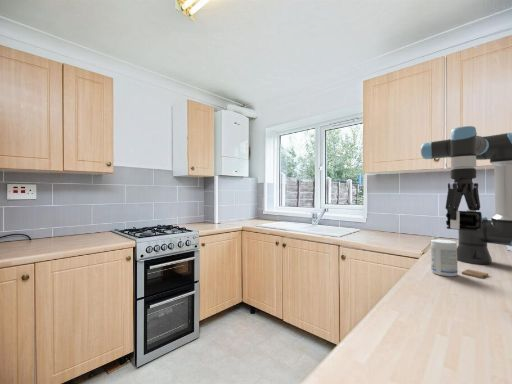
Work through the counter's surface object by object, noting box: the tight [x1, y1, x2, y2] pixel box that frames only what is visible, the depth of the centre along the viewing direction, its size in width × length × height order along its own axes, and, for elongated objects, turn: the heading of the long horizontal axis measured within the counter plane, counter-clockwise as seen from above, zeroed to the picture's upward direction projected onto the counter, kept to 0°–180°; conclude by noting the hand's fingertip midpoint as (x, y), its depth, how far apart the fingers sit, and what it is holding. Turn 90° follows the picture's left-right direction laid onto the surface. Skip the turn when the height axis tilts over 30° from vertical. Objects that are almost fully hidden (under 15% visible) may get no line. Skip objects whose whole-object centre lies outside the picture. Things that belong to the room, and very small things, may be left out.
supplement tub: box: [430, 238, 459, 277], centre depth 115 cm, size 10×10×15 cm
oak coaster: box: [461, 268, 489, 279], centre depth 113 cm, size 7×7×1 cm
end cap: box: [445, 210, 483, 231], centre depth 97 cm, size 10×7×7 cm
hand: (463, 227), depth 97 cm, fingers closed on end cap, 9 cm apart
